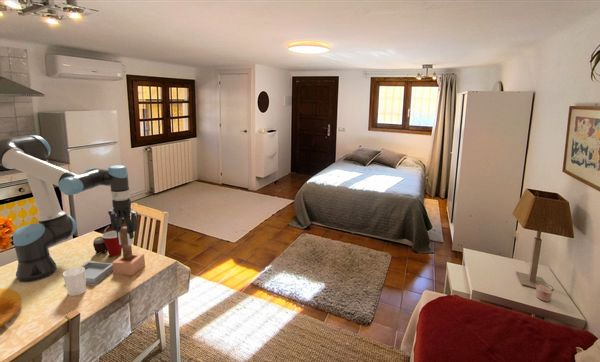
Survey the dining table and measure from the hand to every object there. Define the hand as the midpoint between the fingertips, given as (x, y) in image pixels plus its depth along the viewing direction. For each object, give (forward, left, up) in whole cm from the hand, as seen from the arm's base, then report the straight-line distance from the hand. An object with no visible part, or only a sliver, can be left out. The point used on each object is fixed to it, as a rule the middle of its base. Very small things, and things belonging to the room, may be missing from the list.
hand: (126, 243), depth 157 cm
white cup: (-10, -21, -14) cm, 27 cm away
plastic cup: (-17, +13, -14) cm, 25 cm away
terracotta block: (0, 0, -14) cm, 14 cm away
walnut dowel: (0, 0, -8) cm, 8 cm away
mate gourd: (-25, +14, -14) cm, 32 cm away
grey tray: (-14, -8, -14) cm, 21 cm away
